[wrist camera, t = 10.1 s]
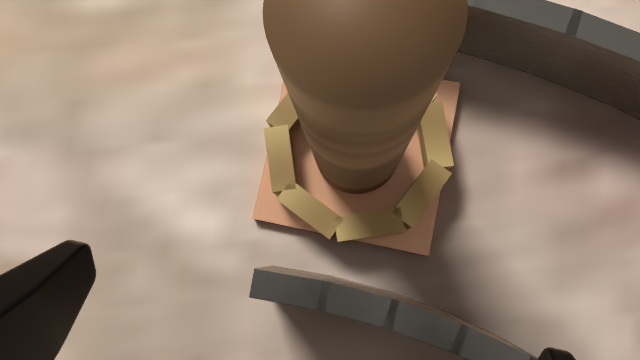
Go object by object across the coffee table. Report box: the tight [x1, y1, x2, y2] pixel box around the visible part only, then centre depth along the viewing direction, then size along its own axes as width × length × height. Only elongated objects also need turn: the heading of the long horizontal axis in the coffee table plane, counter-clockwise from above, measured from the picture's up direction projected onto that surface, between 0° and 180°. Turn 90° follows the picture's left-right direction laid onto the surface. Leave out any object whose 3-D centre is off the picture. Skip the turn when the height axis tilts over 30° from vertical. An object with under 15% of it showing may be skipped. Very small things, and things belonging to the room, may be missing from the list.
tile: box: [252, 80, 460, 256], centre depth 22 cm, size 8×8×1 cm
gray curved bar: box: [249, 0, 640, 360], centre depth 19 cm, size 16×21×4 cm
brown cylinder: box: [263, 0, 468, 242], centre depth 15 cm, size 7×7×13 cm
